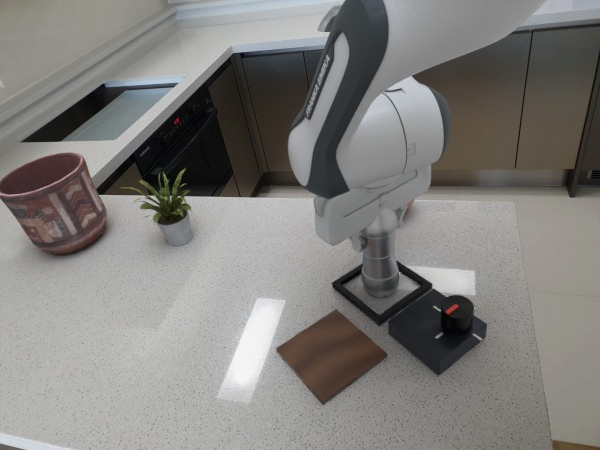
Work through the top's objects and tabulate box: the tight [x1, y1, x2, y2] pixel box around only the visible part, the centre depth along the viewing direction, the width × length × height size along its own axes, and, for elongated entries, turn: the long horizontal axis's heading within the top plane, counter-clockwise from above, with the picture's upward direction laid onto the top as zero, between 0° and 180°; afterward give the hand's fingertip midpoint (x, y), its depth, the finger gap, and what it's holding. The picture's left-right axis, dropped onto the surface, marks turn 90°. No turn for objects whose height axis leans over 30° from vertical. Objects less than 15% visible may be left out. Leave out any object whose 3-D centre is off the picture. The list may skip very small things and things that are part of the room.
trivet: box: [275, 308, 388, 405], centre depth 69 cm, size 12×12×1 cm
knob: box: [441, 294, 475, 334], centre depth 66 cm, size 4×4×4 cm
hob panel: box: [387, 287, 488, 376], centre depth 68 cm, size 11×11×3 cm
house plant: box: [121, 167, 194, 247], centre depth 95 cm, size 14×14×16 cm
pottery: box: [0, 151, 108, 256], centre depth 101 cm, size 18×18×18 cm
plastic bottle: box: [359, 192, 401, 298], centre depth 73 cm, size 6×7×20 cm
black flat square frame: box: [331, 259, 433, 327], centre depth 79 cm, size 12×12×1 cm
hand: (377, 237), depth 72 cm, fingers open, 6 cm apart
